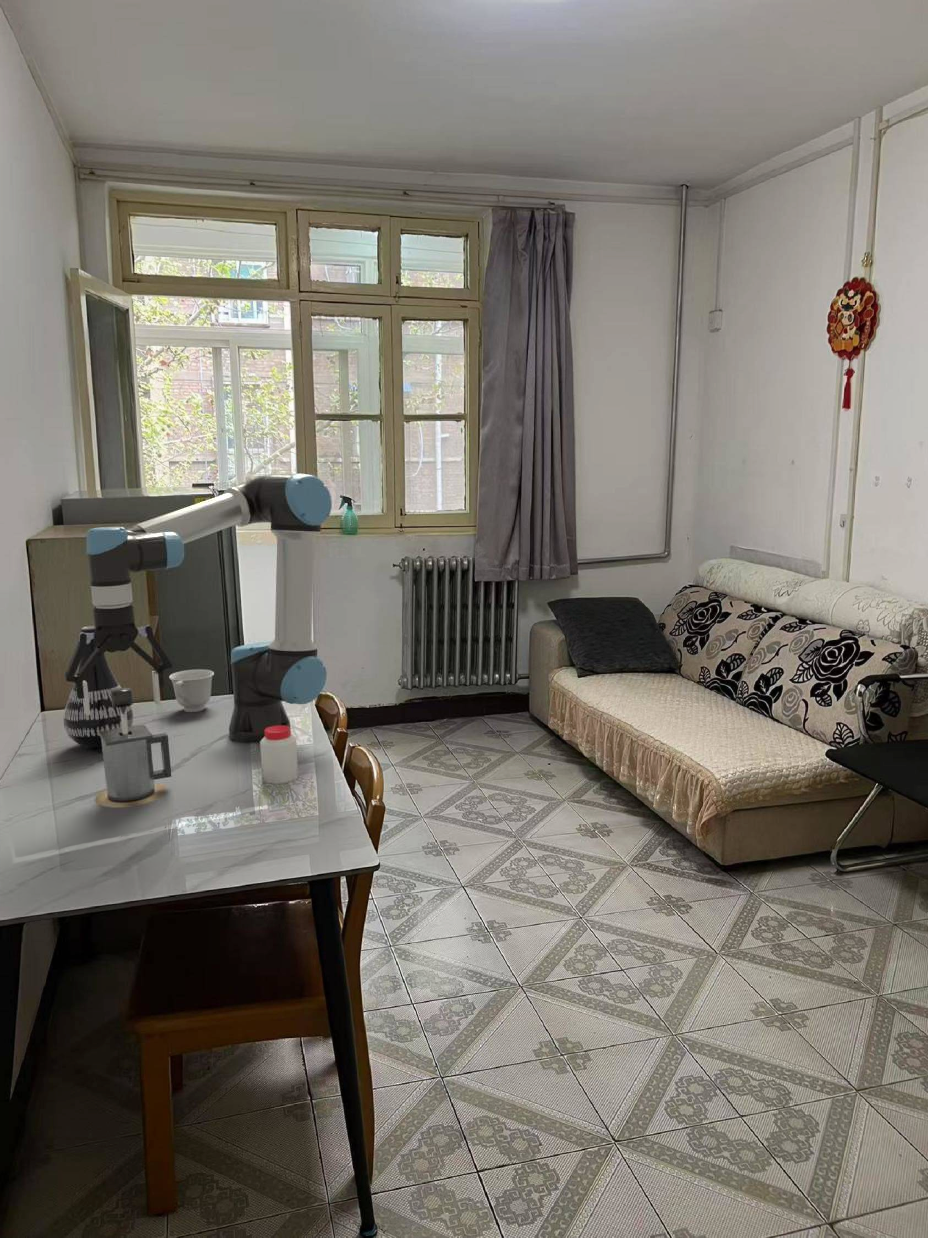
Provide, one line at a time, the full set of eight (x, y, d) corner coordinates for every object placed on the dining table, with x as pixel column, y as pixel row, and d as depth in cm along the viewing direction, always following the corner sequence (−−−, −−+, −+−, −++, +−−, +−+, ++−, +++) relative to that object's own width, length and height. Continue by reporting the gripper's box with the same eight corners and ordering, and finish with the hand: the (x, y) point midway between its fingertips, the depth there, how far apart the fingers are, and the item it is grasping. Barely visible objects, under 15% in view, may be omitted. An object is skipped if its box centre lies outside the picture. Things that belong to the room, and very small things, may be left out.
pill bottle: (305, 774, 203) (302, 725, 201) (284, 785, 196) (281, 736, 194) (276, 769, 206) (273, 722, 204) (255, 781, 199) (251, 732, 197)
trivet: (159, 781, 200) (159, 777, 200) (173, 801, 188) (173, 798, 188) (90, 794, 194) (90, 790, 193) (101, 816, 182) (100, 812, 181)
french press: (166, 780, 199) (161, 721, 196) (176, 793, 191) (170, 732, 188) (104, 792, 192) (98, 731, 190) (111, 806, 185) (105, 743, 182)
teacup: (158, 718, 249) (155, 682, 247) (184, 703, 263) (181, 668, 261) (200, 719, 247) (197, 682, 245) (223, 703, 261) (221, 669, 259)
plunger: (144, 773, 195) (136, 684, 192) (151, 783, 189) (143, 691, 185) (108, 779, 192) (99, 689, 188) (114, 790, 185) (105, 697, 182)
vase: (136, 732, 236) (125, 619, 231) (135, 751, 221) (123, 630, 216) (69, 740, 231) (56, 624, 226) (63, 759, 217) (50, 636, 211)
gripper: (172, 596, 193) (181, 694, 197) (42, 609, 181) (54, 713, 185) (181, 601, 186) (189, 702, 190) (46, 614, 174) (58, 722, 178)
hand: (123, 708), depth 187 cm, fingers open, 13 cm apart
